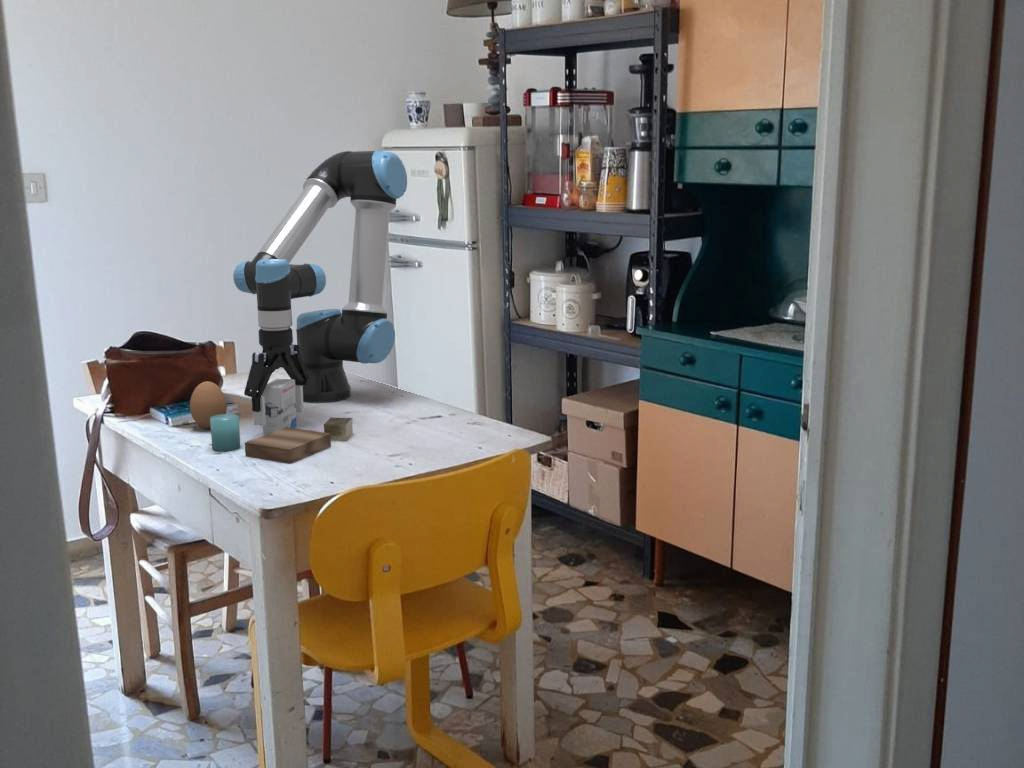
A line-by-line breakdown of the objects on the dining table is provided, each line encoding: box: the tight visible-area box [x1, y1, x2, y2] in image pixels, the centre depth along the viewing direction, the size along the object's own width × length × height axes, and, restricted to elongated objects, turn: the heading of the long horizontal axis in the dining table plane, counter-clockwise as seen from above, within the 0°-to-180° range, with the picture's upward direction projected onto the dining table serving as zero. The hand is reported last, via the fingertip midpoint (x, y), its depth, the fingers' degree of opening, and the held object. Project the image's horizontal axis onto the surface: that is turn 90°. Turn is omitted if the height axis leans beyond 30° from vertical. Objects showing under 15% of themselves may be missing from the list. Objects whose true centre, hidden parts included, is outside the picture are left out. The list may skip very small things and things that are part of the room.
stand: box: [244, 427, 332, 464], centre depth 213 cm, size 14×12×3 cm
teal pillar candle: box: [210, 413, 241, 453], centre depth 215 cm, size 6×6×7 cm
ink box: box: [261, 378, 298, 436], centre depth 228 cm, size 9×5×12 cm, turn 168°
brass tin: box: [323, 417, 354, 442], centre depth 224 cm, size 6×5×4 cm
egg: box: [189, 380, 228, 430], centre depth 231 cm, size 8×8×11 cm
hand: (279, 418), depth 228 cm, fingers open, 13 cm apart
